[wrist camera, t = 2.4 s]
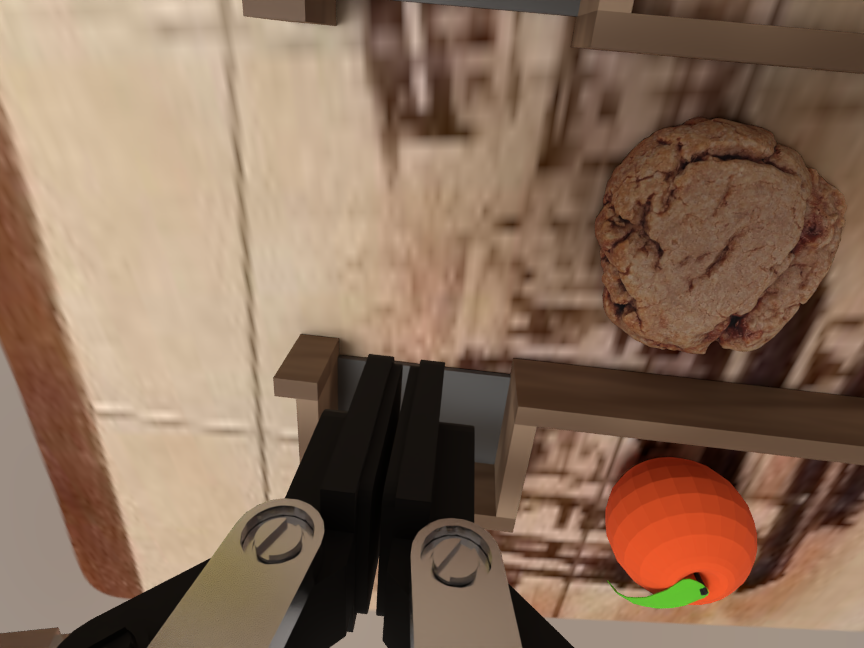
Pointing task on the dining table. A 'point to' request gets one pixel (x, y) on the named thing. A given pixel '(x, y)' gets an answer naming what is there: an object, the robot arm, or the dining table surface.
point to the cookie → (714, 236)
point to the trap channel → (588, 386)
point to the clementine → (680, 532)
